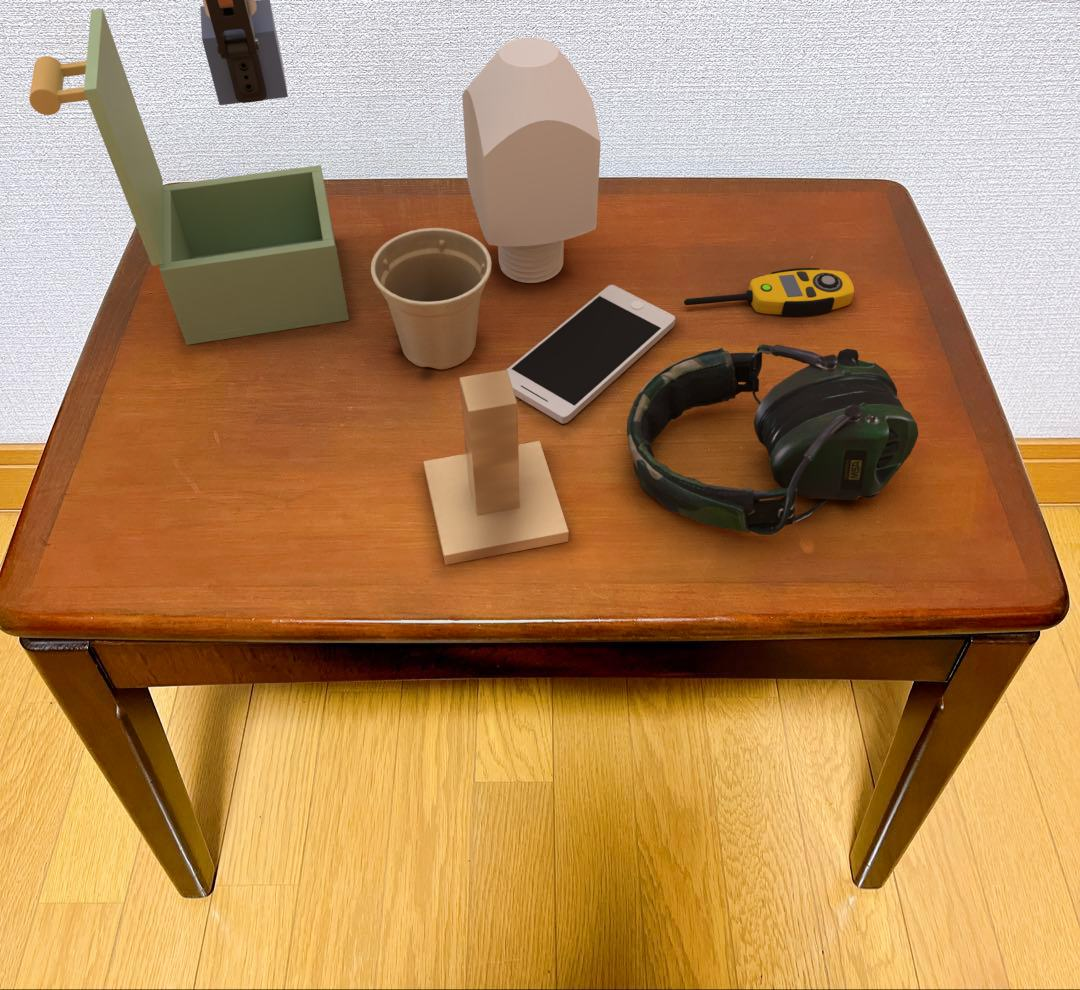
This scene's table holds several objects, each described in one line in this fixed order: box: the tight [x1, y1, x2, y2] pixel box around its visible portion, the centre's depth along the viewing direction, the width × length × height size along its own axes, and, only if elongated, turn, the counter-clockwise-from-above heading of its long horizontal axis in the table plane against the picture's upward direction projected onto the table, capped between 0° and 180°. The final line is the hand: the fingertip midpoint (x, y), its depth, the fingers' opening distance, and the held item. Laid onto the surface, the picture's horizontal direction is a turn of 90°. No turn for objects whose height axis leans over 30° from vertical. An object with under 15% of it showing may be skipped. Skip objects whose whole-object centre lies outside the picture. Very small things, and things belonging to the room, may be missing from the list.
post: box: [423, 369, 570, 566], centre depth 70 cm, size 9×9×12 cm
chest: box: [159, 164, 350, 346], centre depth 87 cm, size 14×12×8 cm
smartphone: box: [506, 284, 676, 424], centre depth 85 cm, size 7×15×1 cm, turn 140°
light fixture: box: [461, 37, 602, 284], centre depth 85 cm, size 9×9×20 cm
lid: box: [28, 8, 164, 267], centre depth 77 cm, size 15×12×6 cm
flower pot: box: [370, 227, 492, 370], centre depth 82 cm, size 9×9×9 cm
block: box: [199, 0, 289, 106], centre depth 74 cm, size 5×5×5 cm
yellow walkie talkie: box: [683, 267, 855, 317], centre depth 89 cm, size 5×2×15 cm
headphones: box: [626, 343, 919, 536], centre depth 74 cm, size 13×13×20 cm
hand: (250, 79), depth 76 cm, fingers closed on block, 5 cm apart
